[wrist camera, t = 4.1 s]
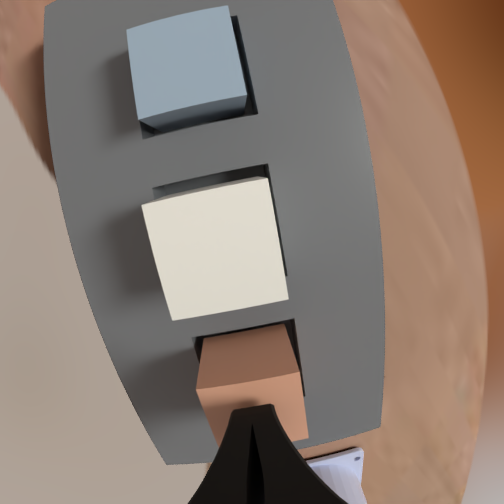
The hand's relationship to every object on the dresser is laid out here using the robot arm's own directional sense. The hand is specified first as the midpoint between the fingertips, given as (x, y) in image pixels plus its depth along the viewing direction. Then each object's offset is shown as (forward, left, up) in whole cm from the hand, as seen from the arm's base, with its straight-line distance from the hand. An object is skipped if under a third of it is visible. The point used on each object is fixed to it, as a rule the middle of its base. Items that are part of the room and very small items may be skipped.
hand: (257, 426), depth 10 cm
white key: (+6, 0, -4) cm, 7 cm away
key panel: (+6, 0, -6) cm, 9 cm away
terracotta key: (0, 0, -4) cm, 4 cm away
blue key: (+12, 0, -5) cm, 13 cm away
